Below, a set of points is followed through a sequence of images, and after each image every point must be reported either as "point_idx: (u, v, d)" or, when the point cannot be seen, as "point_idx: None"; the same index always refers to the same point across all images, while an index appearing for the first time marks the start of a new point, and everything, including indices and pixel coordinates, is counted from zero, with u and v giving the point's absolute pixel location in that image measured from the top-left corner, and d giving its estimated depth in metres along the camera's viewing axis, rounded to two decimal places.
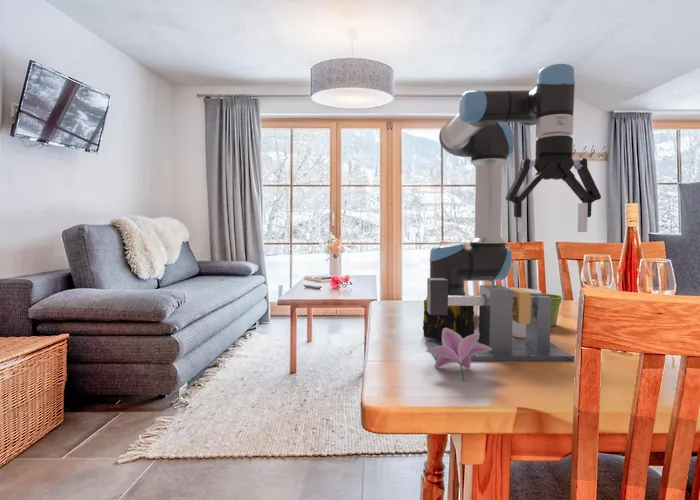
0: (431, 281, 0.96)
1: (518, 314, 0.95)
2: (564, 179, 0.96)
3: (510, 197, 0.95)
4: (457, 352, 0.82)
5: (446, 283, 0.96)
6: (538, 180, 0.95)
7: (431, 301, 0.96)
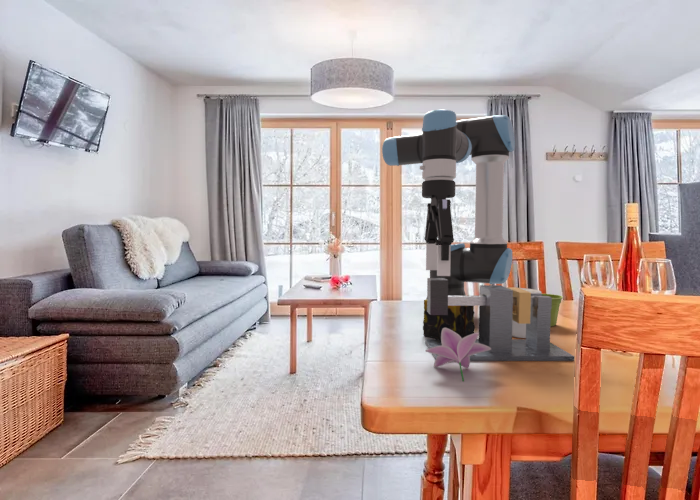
0: (431, 281, 0.96)
1: (518, 314, 0.95)
2: None
3: None
4: (456, 352, 0.82)
5: (446, 283, 0.96)
6: (429, 223, 1.01)
7: (431, 301, 0.96)
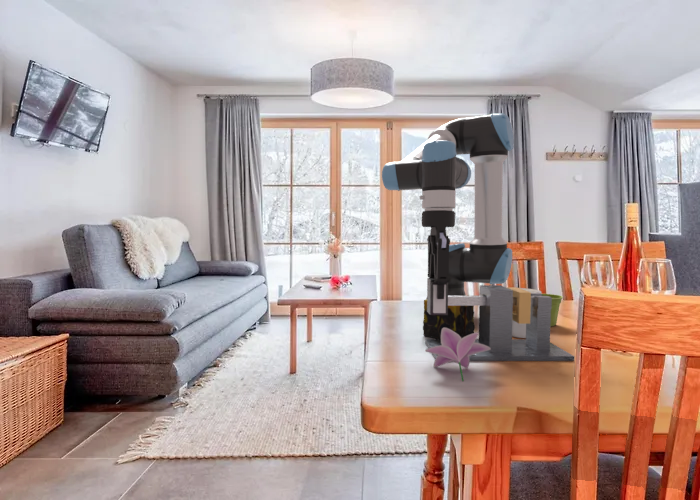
0: (431, 281, 0.96)
1: (518, 314, 0.95)
2: None
3: None
4: (456, 352, 0.82)
5: (446, 283, 0.96)
6: (431, 254, 1.00)
7: (431, 301, 0.96)
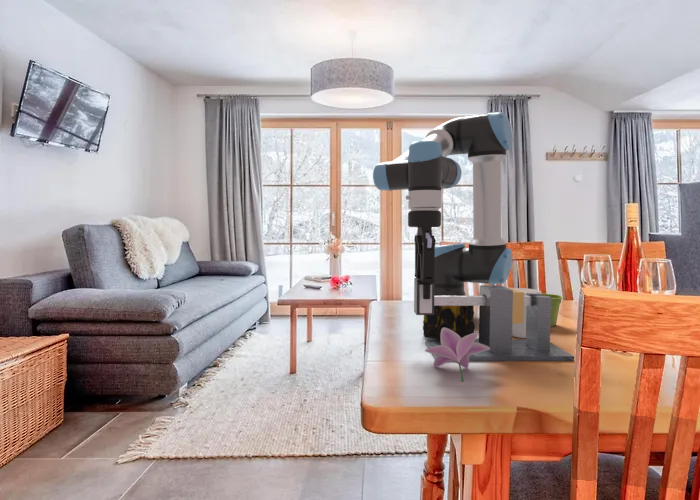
0: (417, 281, 0.96)
1: None
2: None
3: (415, 275, 1.03)
4: (455, 352, 0.82)
5: (432, 283, 0.96)
6: (417, 254, 1.00)
7: (417, 301, 0.96)
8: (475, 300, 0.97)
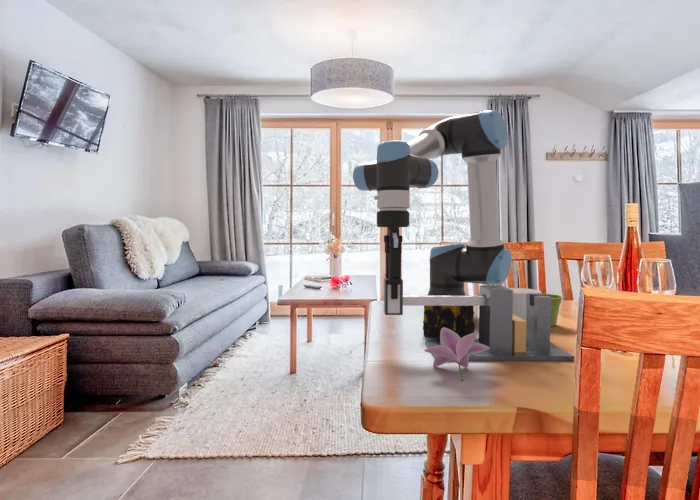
0: (386, 281, 0.96)
1: (514, 343, 0.95)
2: None
3: (385, 275, 1.03)
4: (455, 351, 0.82)
5: (401, 283, 0.96)
6: (386, 254, 1.00)
7: (386, 301, 0.96)
8: (444, 300, 0.97)
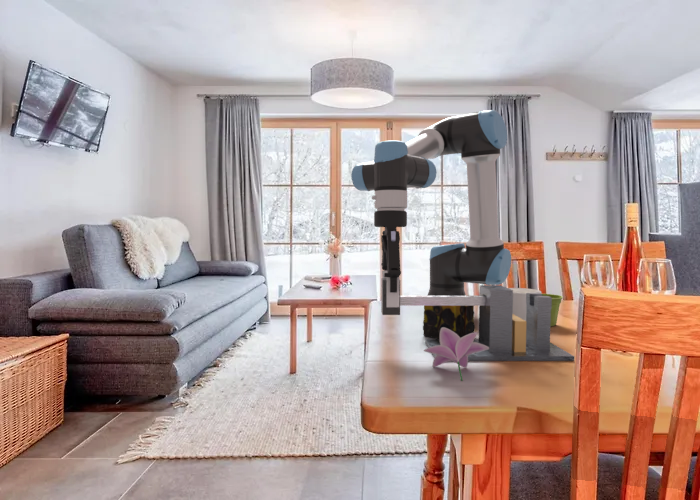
0: (383, 281, 0.96)
1: (514, 343, 0.95)
2: None
3: (381, 264, 1.08)
4: (455, 351, 0.83)
5: None
6: (383, 251, 1.02)
7: (383, 301, 0.96)
8: (441, 300, 0.97)
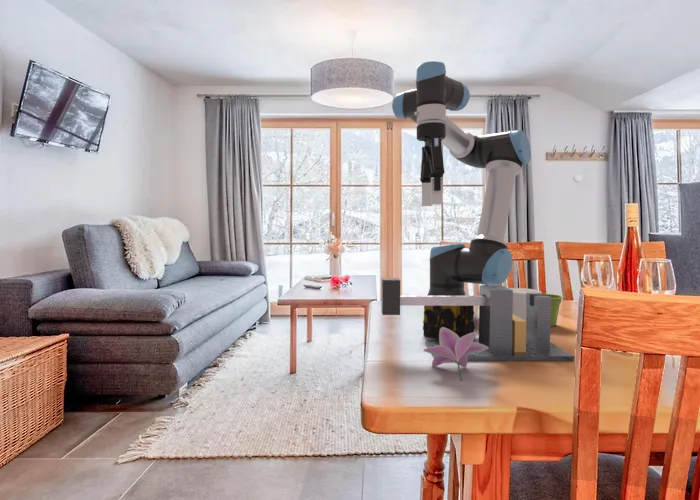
0: (383, 281, 0.96)
1: (514, 343, 0.95)
2: None
3: (420, 179, 1.22)
4: (454, 351, 0.83)
5: (398, 283, 0.96)
6: (424, 163, 1.16)
7: (383, 301, 0.96)
8: (441, 300, 0.97)
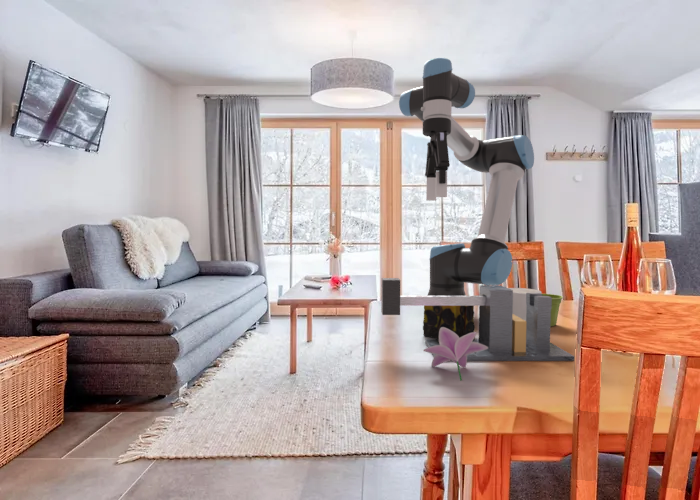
0: (383, 281, 0.96)
1: (514, 343, 0.95)
2: None
3: (425, 174, 1.24)
4: (454, 351, 0.83)
5: (398, 283, 0.96)
6: (429, 158, 1.18)
7: (383, 301, 0.96)
8: (441, 300, 0.97)
